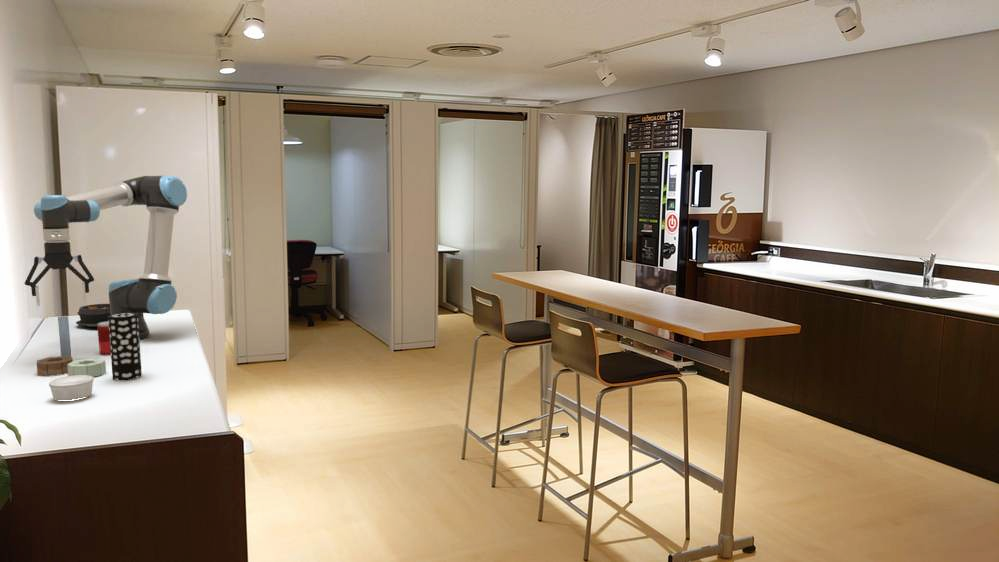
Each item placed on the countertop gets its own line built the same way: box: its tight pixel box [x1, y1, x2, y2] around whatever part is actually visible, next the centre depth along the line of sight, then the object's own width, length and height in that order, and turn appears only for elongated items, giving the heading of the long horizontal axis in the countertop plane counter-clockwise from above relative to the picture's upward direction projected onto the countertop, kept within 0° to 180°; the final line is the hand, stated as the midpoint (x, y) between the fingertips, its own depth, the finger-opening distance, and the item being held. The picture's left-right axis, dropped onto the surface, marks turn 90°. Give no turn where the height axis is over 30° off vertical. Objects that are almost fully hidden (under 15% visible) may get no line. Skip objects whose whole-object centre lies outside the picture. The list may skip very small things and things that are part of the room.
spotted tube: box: [108, 313, 143, 381], centre depth 236 cm, size 8×8×20 cm
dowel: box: [57, 315, 72, 357], centre depth 255 cm, size 3×3×16 cm
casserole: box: [75, 303, 111, 328], centre depth 323 cm, size 25×19×8 cm
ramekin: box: [48, 375, 95, 401], centre depth 215 cm, size 11×11×5 cm
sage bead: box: [67, 358, 107, 378], centre depth 240 cm, size 10×10×4 cm
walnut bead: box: [36, 355, 74, 376], centre depth 244 cm, size 10×10×4 cm
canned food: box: [97, 321, 111, 356], centre depth 271 cm, size 8×8×11 cm
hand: (61, 304), depth 253 cm, fingers open, 13 cm apart
